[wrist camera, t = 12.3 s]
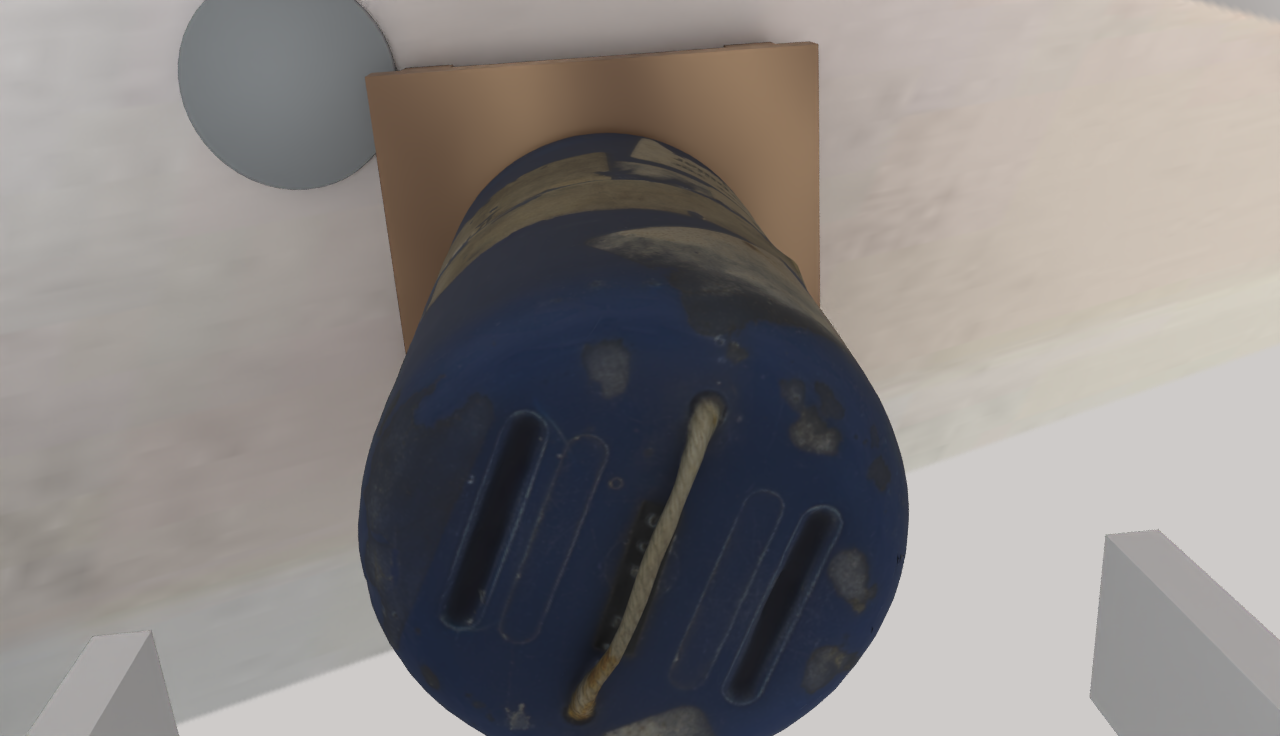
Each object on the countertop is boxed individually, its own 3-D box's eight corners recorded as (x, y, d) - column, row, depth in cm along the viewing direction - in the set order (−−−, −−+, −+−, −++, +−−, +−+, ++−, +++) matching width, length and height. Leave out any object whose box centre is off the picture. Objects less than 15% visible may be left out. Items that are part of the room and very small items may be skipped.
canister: (820, 240, 33) (1087, 521, 16) (645, 475, 36) (720, 930, 19) (559, 57, 31) (558, 167, 14) (389, 322, 33) (214, 688, 16)
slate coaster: (207, 193, 37) (202, 197, 37) (163, -22, 35) (156, -21, 34) (411, 178, 38) (408, 181, 37) (381, -36, 35) (378, -36, 35)
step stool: (444, 415, 41) (425, 487, 35) (394, 59, 36) (364, 76, 31) (785, 386, 41) (820, 452, 36) (778, 32, 37) (818, 44, 31)
